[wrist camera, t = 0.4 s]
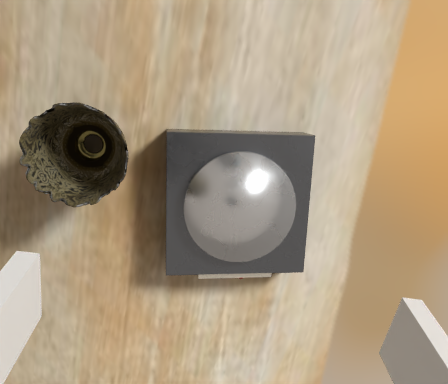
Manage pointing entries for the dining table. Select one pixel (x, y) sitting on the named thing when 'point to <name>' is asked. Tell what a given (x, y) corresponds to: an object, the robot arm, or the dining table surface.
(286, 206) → the kitchen scale
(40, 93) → the dining table surface
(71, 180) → the cup
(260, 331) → the dining table surface
